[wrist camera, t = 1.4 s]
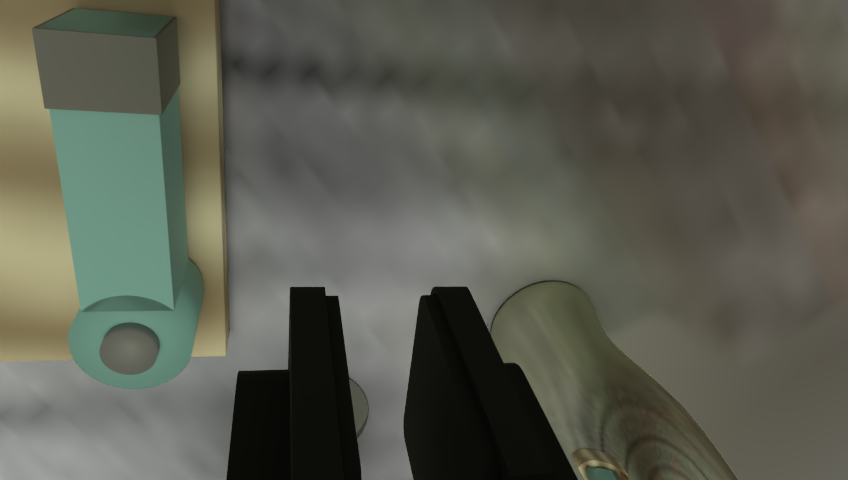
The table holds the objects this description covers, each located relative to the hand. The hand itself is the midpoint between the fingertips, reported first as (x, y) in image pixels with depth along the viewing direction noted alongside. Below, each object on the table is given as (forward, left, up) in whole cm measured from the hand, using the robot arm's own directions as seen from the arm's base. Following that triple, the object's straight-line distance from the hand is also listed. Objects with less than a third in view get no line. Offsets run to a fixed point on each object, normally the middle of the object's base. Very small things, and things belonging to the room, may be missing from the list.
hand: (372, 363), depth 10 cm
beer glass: (+13, +13, -19) cm, 27 cm away
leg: (+4, -7, -17) cm, 19 cm away
